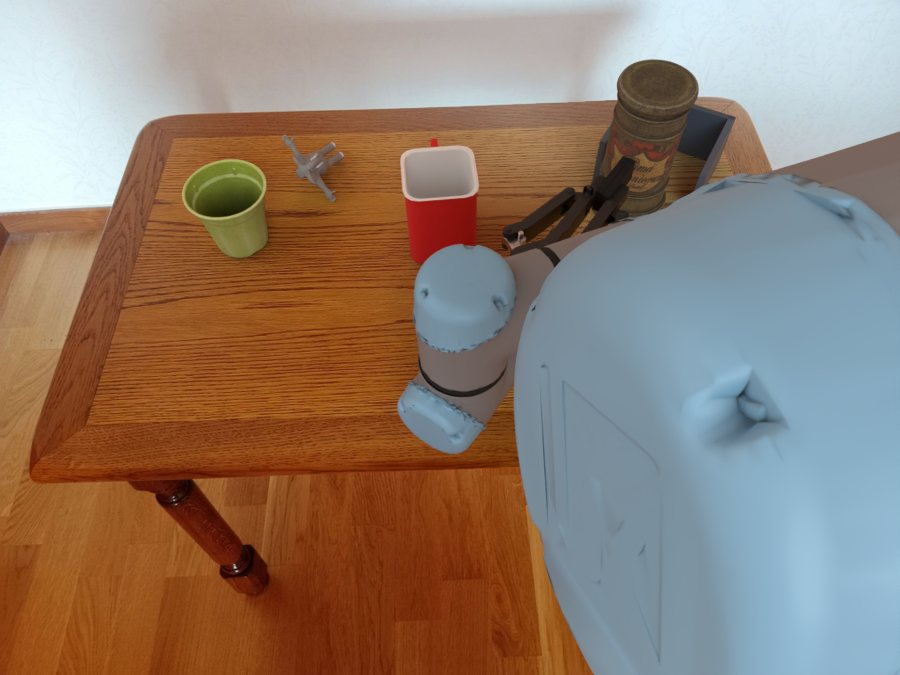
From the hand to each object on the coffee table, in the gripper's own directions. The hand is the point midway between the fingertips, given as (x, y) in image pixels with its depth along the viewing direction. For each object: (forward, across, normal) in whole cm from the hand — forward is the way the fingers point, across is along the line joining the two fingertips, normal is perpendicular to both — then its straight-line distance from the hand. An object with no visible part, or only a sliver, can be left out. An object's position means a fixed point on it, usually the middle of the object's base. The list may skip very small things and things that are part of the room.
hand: (627, 167), depth 79 cm
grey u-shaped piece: (+12, 0, -10) cm, 15 cm away
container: (+4, 0, -10) cm, 10 cm away
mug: (-12, -18, -10) cm, 23 cm away
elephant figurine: (-13, -36, -10) cm, 40 cm away
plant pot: (-26, -36, -10) cm, 46 cm away
